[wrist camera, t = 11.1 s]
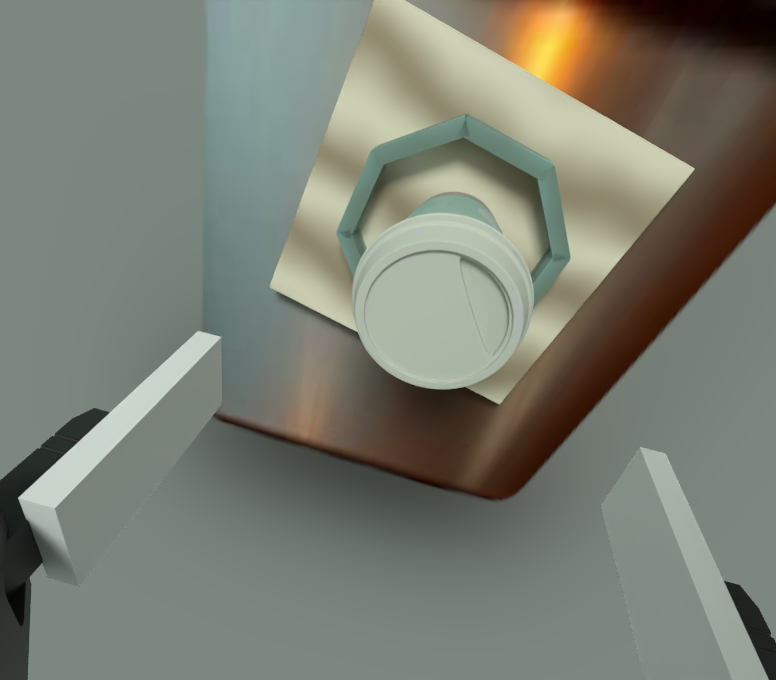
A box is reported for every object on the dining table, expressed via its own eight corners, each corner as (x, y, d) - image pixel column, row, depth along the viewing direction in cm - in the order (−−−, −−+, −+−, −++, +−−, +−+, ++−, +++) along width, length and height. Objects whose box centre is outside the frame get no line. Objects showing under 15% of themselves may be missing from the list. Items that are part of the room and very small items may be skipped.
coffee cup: (494, 308, 33) (498, 419, 23) (377, 277, 33) (329, 371, 23) (540, 187, 28) (571, 257, 18) (404, 152, 29) (359, 202, 18)
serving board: (385, -11, 26) (372, -20, 23) (684, 163, 28) (707, 175, 25) (277, 278, 36) (259, 297, 34) (498, 392, 38) (500, 419, 35)
